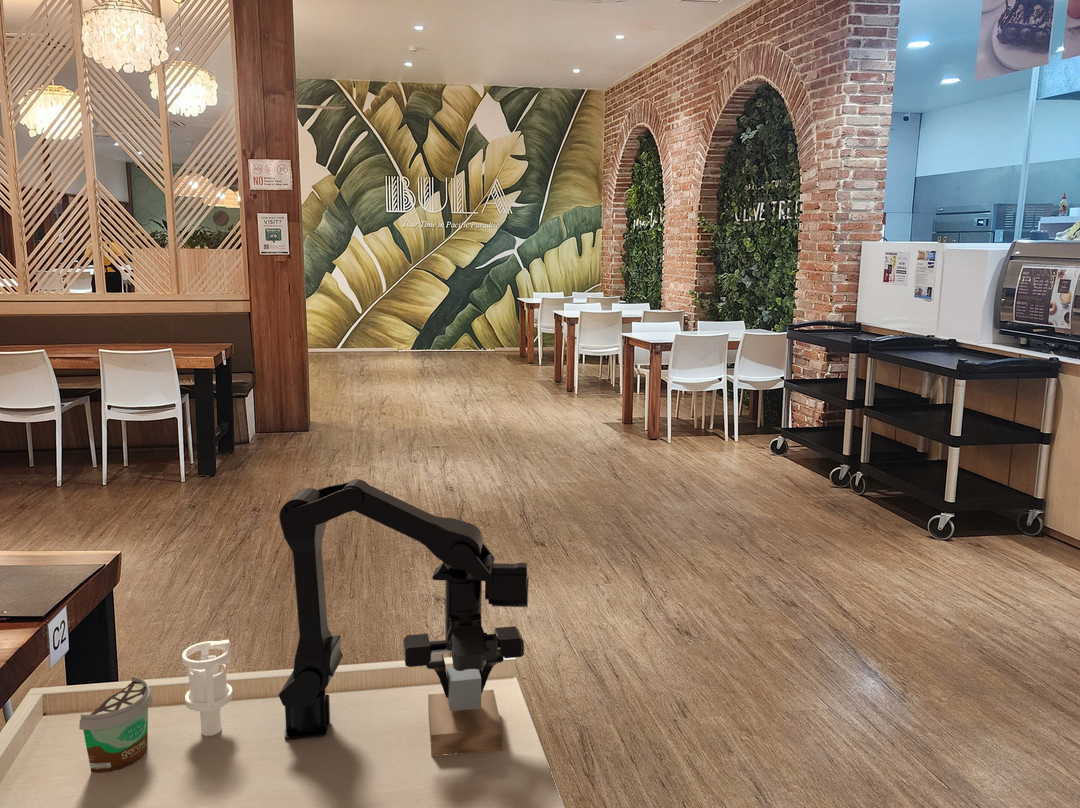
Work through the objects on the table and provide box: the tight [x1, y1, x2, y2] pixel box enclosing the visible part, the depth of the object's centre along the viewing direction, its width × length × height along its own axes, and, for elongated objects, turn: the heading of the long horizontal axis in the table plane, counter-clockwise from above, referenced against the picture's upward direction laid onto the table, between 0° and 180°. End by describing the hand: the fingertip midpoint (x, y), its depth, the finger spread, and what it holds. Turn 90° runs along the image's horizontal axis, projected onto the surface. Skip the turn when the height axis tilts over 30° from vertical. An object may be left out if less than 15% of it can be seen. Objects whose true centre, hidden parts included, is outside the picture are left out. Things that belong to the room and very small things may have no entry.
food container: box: [78, 676, 153, 774], centre depth 130 cm, size 12×6×10 cm, turn 168°
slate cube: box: [445, 664, 481, 711], centre depth 137 cm, size 5×5×5 cm
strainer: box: [181, 639, 234, 737], centre depth 136 cm, size 7×7×15 cm
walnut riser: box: [427, 689, 503, 757], centre depth 138 cm, size 11×12×4 cm
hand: (463, 694), depth 137 cm, fingers closed on slate cube, 5 cm apart
